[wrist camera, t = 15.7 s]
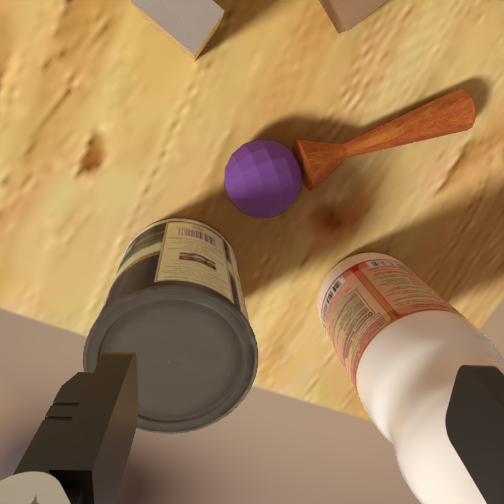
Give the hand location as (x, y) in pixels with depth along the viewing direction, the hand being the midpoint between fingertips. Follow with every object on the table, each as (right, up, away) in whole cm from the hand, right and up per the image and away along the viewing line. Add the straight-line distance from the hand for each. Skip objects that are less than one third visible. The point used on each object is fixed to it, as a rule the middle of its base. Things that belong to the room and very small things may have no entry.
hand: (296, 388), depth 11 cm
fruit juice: (+9, -1, +32) cm, 33 cm away
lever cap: (-6, +20, +22) cm, 31 cm away
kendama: (+6, +12, +27) cm, 30 cm away
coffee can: (-7, +2, +29) cm, 30 cm away
